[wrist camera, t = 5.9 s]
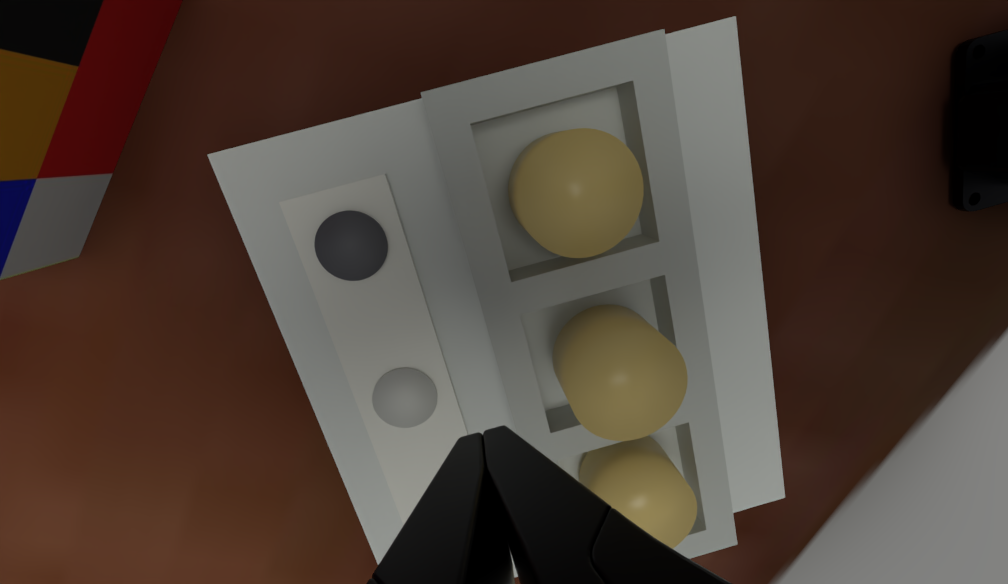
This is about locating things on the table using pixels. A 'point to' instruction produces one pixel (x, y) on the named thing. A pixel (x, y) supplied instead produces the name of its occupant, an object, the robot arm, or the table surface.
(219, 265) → the table surface
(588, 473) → the button
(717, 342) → the board
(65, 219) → the puzzle toy
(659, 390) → the button mid
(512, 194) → the button
